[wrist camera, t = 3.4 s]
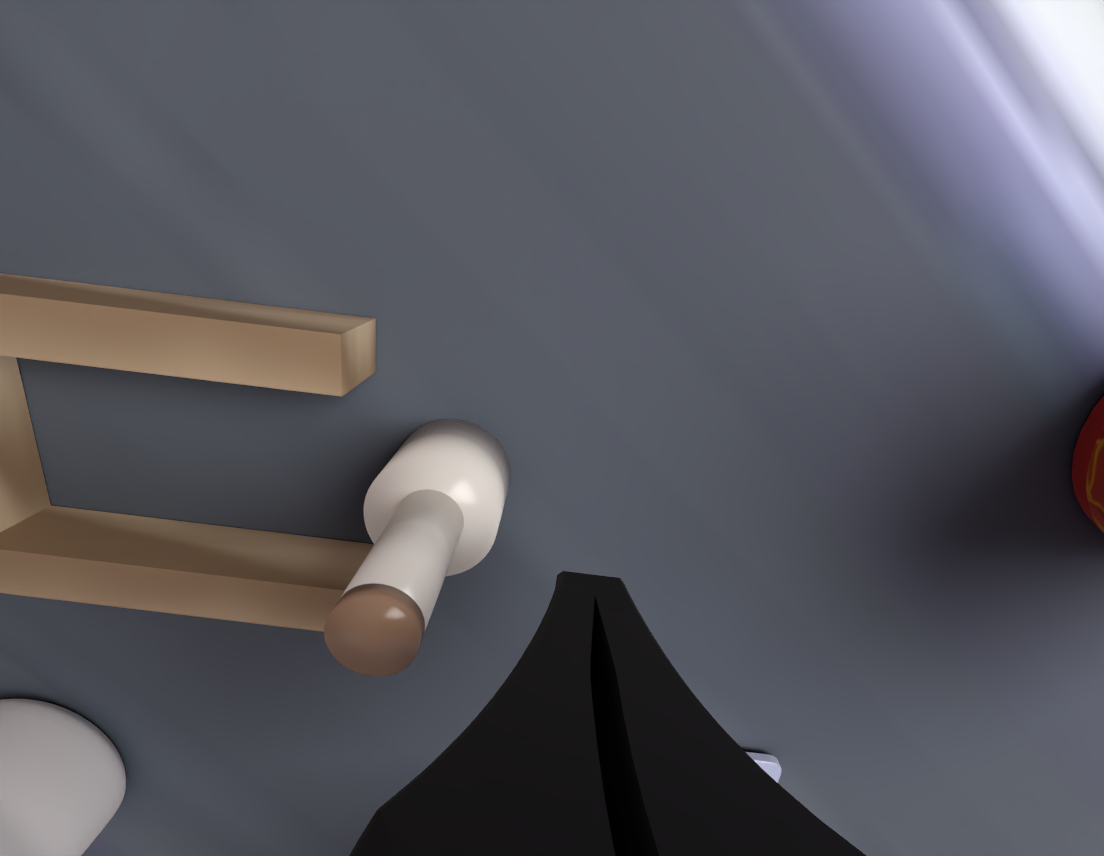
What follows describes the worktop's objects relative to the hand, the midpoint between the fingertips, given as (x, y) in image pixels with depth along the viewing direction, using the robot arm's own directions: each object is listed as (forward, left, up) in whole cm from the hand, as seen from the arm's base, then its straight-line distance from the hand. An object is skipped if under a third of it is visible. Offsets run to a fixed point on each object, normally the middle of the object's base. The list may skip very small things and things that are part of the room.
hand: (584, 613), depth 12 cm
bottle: (0, +4, -6) cm, 7 cm away
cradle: (0, +12, -6) cm, 14 cm away
